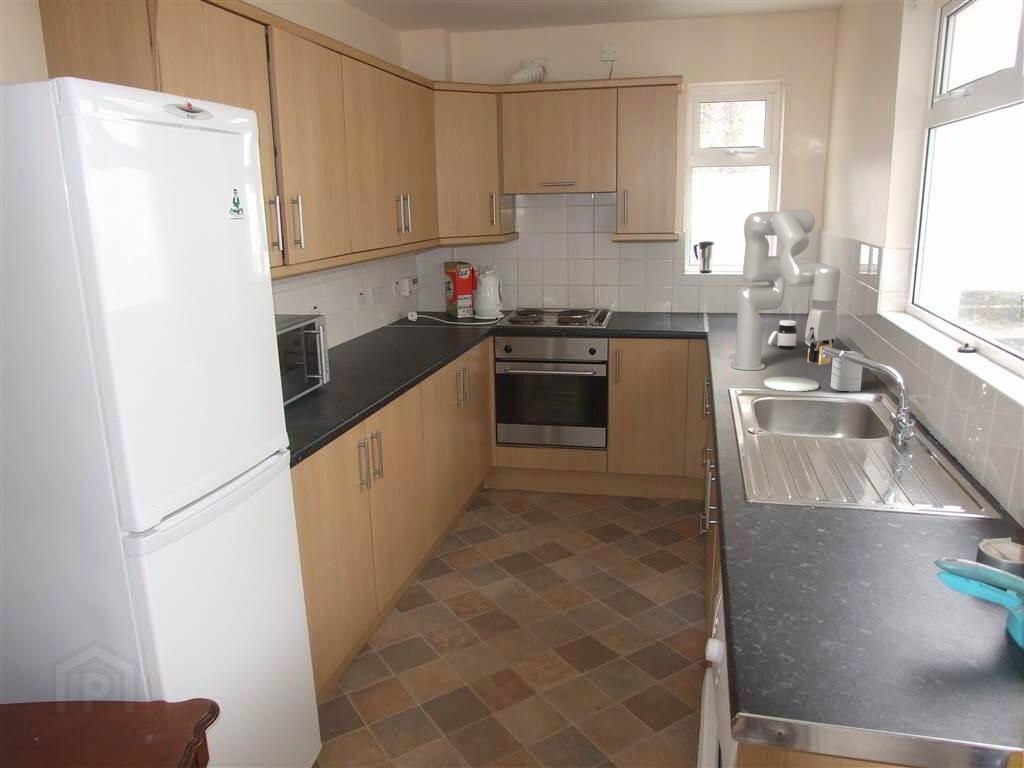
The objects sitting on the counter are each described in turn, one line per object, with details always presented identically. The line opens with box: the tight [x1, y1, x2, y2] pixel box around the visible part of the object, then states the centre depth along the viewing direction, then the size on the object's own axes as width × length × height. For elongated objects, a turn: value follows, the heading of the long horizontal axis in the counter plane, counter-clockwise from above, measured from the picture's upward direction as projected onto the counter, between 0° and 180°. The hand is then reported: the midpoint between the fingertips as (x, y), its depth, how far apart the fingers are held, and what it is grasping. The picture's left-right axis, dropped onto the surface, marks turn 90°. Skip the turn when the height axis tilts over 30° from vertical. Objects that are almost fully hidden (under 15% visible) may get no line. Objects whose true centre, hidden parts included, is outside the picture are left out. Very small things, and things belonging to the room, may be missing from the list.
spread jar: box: [767, 319, 798, 350], centre depth 333 cm, size 12×11×12 cm
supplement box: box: [830, 350, 864, 392], centre depth 260 cm, size 7×7×13 cm
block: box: [807, 341, 833, 366], centre depth 248 cm, size 5×5×6 cm
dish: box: [763, 376, 820, 392], centre depth 267 cm, size 18×18×1 cm
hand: (819, 360), depth 249 cm, fingers closed on block, 5 cm apart
